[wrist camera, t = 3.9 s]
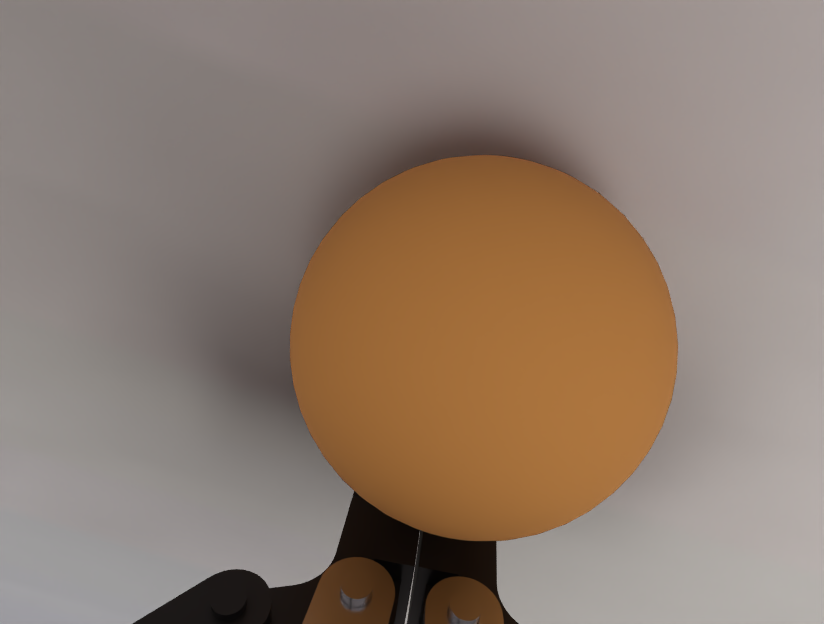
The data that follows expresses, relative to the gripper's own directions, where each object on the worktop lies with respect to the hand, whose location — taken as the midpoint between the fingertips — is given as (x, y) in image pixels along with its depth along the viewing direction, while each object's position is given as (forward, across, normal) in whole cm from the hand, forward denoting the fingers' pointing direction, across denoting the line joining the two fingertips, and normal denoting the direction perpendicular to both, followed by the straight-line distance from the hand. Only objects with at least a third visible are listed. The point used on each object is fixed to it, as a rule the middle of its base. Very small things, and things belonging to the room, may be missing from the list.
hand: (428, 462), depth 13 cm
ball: (-2, 0, -4) cm, 5 cm away
